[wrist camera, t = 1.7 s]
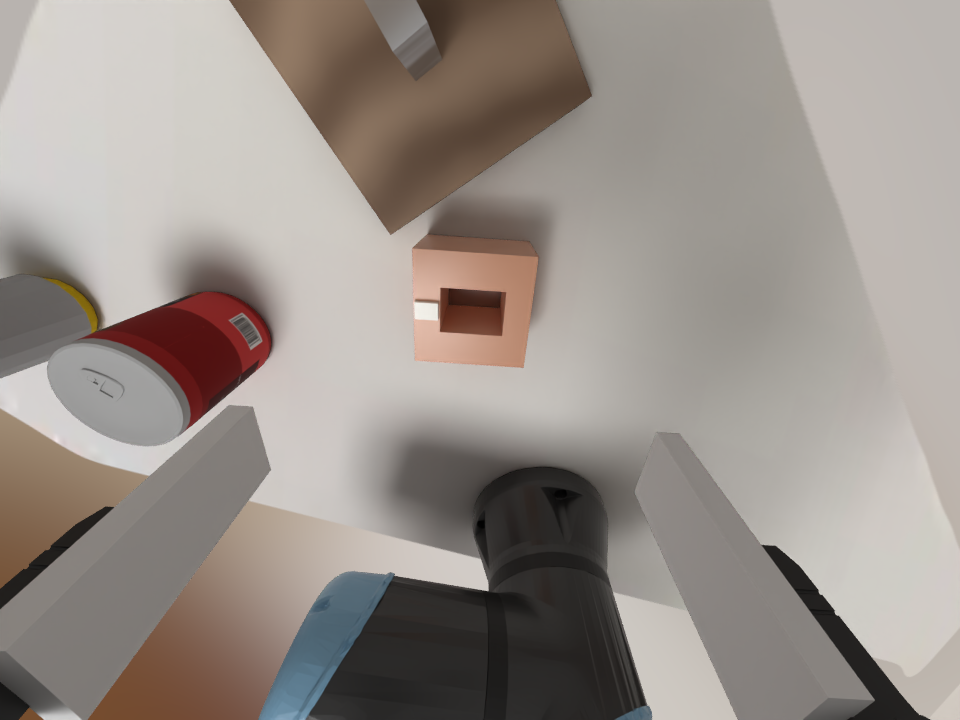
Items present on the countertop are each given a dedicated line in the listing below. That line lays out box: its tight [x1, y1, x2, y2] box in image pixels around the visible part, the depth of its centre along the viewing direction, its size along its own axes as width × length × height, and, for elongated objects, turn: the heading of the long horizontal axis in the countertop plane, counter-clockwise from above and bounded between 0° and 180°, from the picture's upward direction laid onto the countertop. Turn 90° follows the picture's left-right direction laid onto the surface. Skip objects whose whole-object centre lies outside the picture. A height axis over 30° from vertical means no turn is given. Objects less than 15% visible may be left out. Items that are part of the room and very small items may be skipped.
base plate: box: [230, 0, 592, 235], centre depth 19 cm, size 16×16×8 cm
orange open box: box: [412, 234, 539, 368], centre depth 27 cm, size 8×8×6 cm
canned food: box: [47, 292, 271, 446], centre depth 27 cm, size 8×8×11 cm
